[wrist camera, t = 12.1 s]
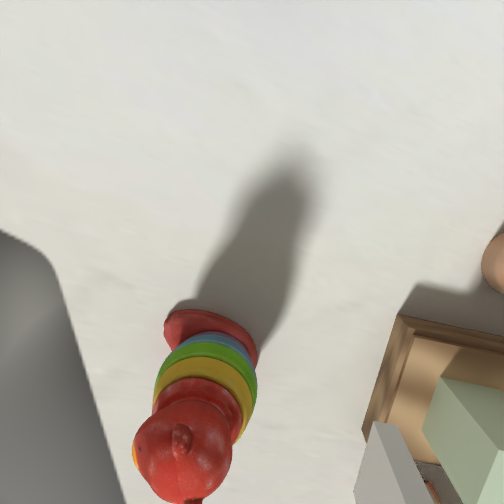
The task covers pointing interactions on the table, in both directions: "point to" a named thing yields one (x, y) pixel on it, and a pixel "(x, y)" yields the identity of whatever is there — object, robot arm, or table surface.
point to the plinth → (428, 375)
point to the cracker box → (432, 493)
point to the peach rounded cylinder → (494, 263)
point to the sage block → (468, 438)
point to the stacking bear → (197, 406)
